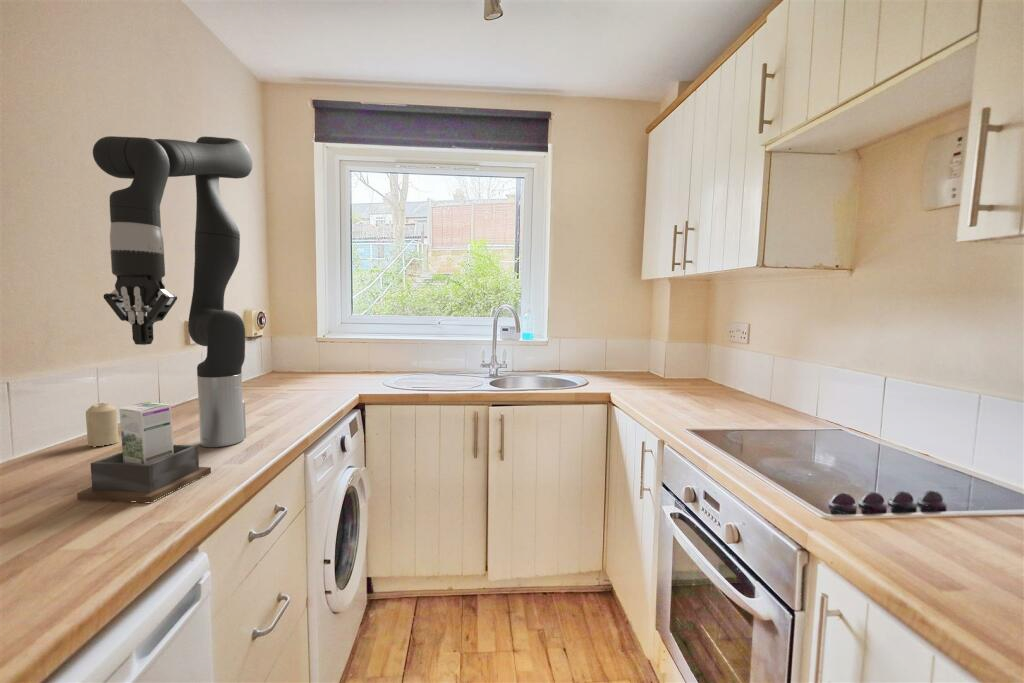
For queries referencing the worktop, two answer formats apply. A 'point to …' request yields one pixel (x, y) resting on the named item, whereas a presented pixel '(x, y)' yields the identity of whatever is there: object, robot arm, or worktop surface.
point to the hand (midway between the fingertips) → (143, 344)
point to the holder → (143, 476)
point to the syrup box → (146, 432)
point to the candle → (102, 425)
